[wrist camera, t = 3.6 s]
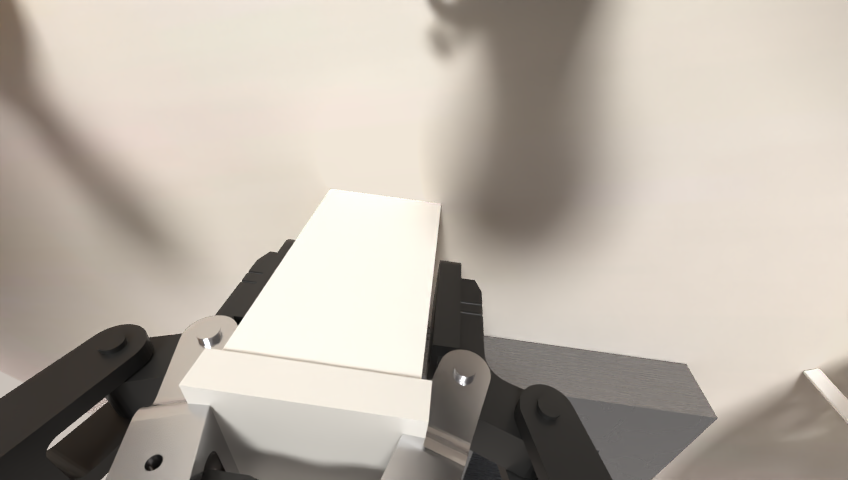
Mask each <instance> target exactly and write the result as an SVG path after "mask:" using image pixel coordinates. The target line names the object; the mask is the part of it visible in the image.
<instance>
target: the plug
mask: <svg viewBox="0 0 848 480" xmlns="http://www.w3.org/2000/svg"><path fill="white" fill-rule="evenodd" d="M440 210H441V204H440V203H432V202H425V201H418V200H410V199H403V198H396V197H388V196H381V195H373V194H366V193H359V192H351V191H344V190H337V189H330V190H329V191H328V193H327V194H326V196H325V197H324V199H323V200H322V202H321V203H320V205H319V206H318V208H317V209H316V211H315V212H314V214H313V215H312V217H311V218H310V220H309V221H308V223H307V224H306V226H305V227H304V229H303V230H302V232H301V233H300V235H299V236H298V238H297V239H296V240H295V242H294V243H293V245H292V246H291V248H290V249H289V251H288V252H287V254H286V255H285V257H284V258H283V260H282V261H281V263H280V264H279V266H278V267H277V269H276V270H275V272H274V273H273V275H272V276H271V278H270V279H269V281H268V282H267V284H266V285H265V287H264V288H263V290H262V291H261V293H260V294H259V296H258V297H257V299H256V300H255V302H254V303H253V305H252V306H251V307H250V309H249V310H248V312H247V313H246V315H245V316H244V318H243V319H242V321H241V322H240V324H239V325H238V327H237V328H236V330H235V331H234V333H233V334H232V336H231V337H230V339H229V340H228V342H227V343H226V345H225V346H224V348H223V349H222V350H217V349H210V348H205V349H204V351H203V352H202V353H201V355H200V356H199V358H198V359H197V360H196V362H195V363H194V364H193V366H192V367H191V369H190V370H189V371H188V373H187V374H186V376H185V377H184V378H183V380H182V381H181V382H180V384H179V387H180V389H181V391H182V393H183V395H184V397H185V399H186V401H187V403H188V404H202V405H210V407H211V409H212V411H213V413H214V416H215V418H216V420H217V423H218V425H219V427H220V429H221V432H222V434H223V436H224V439H225V441H226V443H227V445H228V448H229V450H230V452H231V454H232V457H233V459H234V461H235V464H236V466H237V468H238V470H239V473H240V474H245V475H250V476H252V477H254V478H256V479H258V480H381V478H382V476H383V474H384V472H385V470H386V467H387V465H388V463H389V461H390V459H391V457H392V455H393V453H394V451H395V448H396V446H397V444H398V442H399V440H400V438H401V436H402V434H406V435H412V436H416V437H421V438H425V437H426V432H427V427H428V422H429V411H430V399H431V388H432V381H431V380H424V379H421V378H422V369H423V360H424V352H425V343H426V334H427V325H428V316H429V307H430V299H431V290H432V281H433V272H434V263H435V254H436V246H437V237H438V228H439V219H440Z"/></svg>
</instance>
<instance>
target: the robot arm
mask: <svg viewBox="0 0 848 480" xmlns="http://www.w3.org/2000/svg"><path fill="white" fill-rule="evenodd" d="M294 242H295V240H291V239H288V240H286V242H285V243H284V244H283V246H282V247H281V249H280V250H279V251H278V253H277V252H269V253H267V254H266V255H264V256H263V257H261V258H260V259H258V260H257V261H256V262H255V264H254V265H253V266H252V268H251V269H250V270H249V273H247V274H246V275H245V277H244V278H243V279H242V282H240V283H239V285H238V286H237V287H236V289H235V290H234V291H233V293H232V294H231V295H230V296H229V298H228V299H227V300H226V302H225V303H224V304H223V306H222V307H221V308H220V310H219V311H218V312H217V314H216V315H215V316H209V317H205V318H203V319H200V320H198V321H196V322H194V323H193V324H191V325H190V326H189V327H188V328H187V329H186V330H185V331H184V332H183V333H182V334H175V335H167V336H158V337H150V338H149V337H148V335H147V333H146V331H145V330H144V329H143V328H142V327H140V326H138V325H133V324H126V325H119V326H115V327H111V328H109V329H106V330H104V331H102V332H100V333H98V334H97V335H95V336H93V337H92V338H90V339H89V340H87V341H86V342H84V343H83V344H81V345H80V346H78V347H77V348H75V349H74V350H72V351H71V352H69V353H68V354H66V355H65V356H63V357H62V358H60V359H59V360H57V361H56V362H54V363H53V364H51V365H50V366H48V367H47V368H45V369H44V370H42V371H41V372H39V373H38V374H36V375H35V376H33V377H32V378H30V379H29V380H27V381H26V382H24V383H23V384H21V385H20V386H18V387H17V388H15V389H14V390H12V391H11V392H9V393H8V394H6V395H5V396H3V397H2V398H0V480H101V479H102V478H103V477H104V476H105V475H106V474H107V473H108V472H109V473H108V475H107V477H106V480H258V479H256V478H254V477H252V476H250V475H245V474H240V473H239V470H238V468H237V466H236V464H235V461H234V459H233V457H232V454H231V452H230V450H229V448H228V445H227V443H226V441H225V439H224V436H223V434H222V432H221V429H220V427H219V425H218V423H217V420H216V418H215V416H214V413H213V411H212V409H211V407H210V405H202V404H188V403H187V401H186V399H185V397H184V395H183V393H182V391H181V389H180V387H179V384H180V382H181V381H182V380H183V378H184V377H185V376H186V374H187V373H188V371H189V370H190V369H191V367H192V366H193V364H194V363H195V362H196V360H197V359H198V358H199V356H200V355H201V353H202V352H203V351H204V349H205V348H210V349H217V350H222V349H223V348H224V346H225V345H226V343H227V342H228V340H229V339H230V337H231V336H232V334H233V333H234V331H235V330H236V328H237V327H238V325H239V324H240V322H241V321H242V319H243V318H244V316H245V315H246V313H247V312H248V310H249V309H250V307H251V306H252V305H253V303H254V302H255V300H256V299H257V297H258V296H259V294H260V293H261V291H262V290H263V288H264V287H265V285H266V284H267V282H268V281H269V279H270V278H271V276H272V275H273V273H274V272H275V270H276V269H277V267H278V266H279V264H280V263H281V261H282V260H283V258H284V257H285V255H286V254H287V252H288V251H289V249H290V248H291V246H292V245H293V243H294ZM482 314H483V313H482V294H481V290H480V289H479V287H478V285H477V283H476V282H475V280H469V279H462V278H461V263H456V262H449V261H441V260H440V263H439V270H438V276H437V282H436V288H435V294H434V302H433V310H432V320H431V329H430V339H429V349H428V359H427V369H426V378H425V380H431V381H432V388H431V399H430V411H429V422H428V427H427V432H426V437H425V438H421V437H416V436H412V435H406V434H402V436H401V438H400V440H399V442H398V444H397V446H396V448H395V451H394V453H393V455H392V457H391V459H390V461H389V463H388V465H387V467H386V470H385V472H384V474H383V476H382V478H381V480H461V478H462V474H463V471H464V468H465V464H466V461H467V457H468V452H469V450H471V451H473V452H475V453H477V454H479V455H481V456H482V457H484V458H486V459H488V460H490V461H492V462H494V463H496V464H497V466H498V469H499V472H500V475H501V478H502V480H613V479H612V478H611V476H610V474H609V472H608V470H607V468H606V466H605V465H604V463H603V461H602V459H601V457H600V455H599V454H598V452H597V450H596V448H595V446H594V444H593V442H592V441H591V439H590V437H589V435H588V433H587V431H586V429H585V428H584V426H583V424H582V422H581V420H580V418H579V417H578V415H577V413H576V411H575V409H574V407H573V406H572V404H571V402H570V401H569V400H568V399H567V397H566V396H565V395H564V394H562V393H561V392H560V391H558V390H557V389H555V388H553V387H551V386H548V385H543V384H535V385H531V386H529V387H527V388H526V389H525V390H524V389H522V388H519V387H517V386H515V385H513V384H511V383H508V382H506V381H504V380H503V379H501V378H500V377H498V376H497V375H496V374H495V373H494V372H493V371H492V370H491V368H490V367H489V366H488V364H487V362H486V358H485V352H484V333H483V317H482ZM103 398H106V399H107V400H108V402H107V403H106V404H105V405H103V406H102V407H101V408H100V409H99V410H97V411H96V412H95V413H94V414H93V415H91V416H90V417H89V418H88V419H87V420H85V421H84V422H83V423H82V424H80V425H79V426H78V427H77V428H75V429H74V430H73V431H72V432H71V433H69V434H68V435H67V436H66V437H65V438H63V439H62V440H61V441H60V442H58V443H57V444H56V445H55V446H53V447H52V448H50V449H49V450H47V448H48V446H49V444H50V443H51V442H52V441H53V439H54V438H55V437H56V436H57V435H59V434H60V433H61V432H62V431H64V430H65V429H66V428H67V427H68V426H70V425H71V424H72V423H73V422H75V421H76V420H77V419H78V418H80V417H81V416H82V415H83V414H85V413H86V412H87V411H88V410H90V409H91V408H92V407H93V406H95V405H96V404H97V403H98V402H100V401H101V400H102V399H103Z"/></svg>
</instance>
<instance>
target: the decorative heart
mask: <svg viewBox="0 0 848 480" xmlns="http://www.w3.org/2000/svg"><path fill="white" fill-rule="evenodd" d="M804 374H805V376H806V377H807V378H808V379H809V380H810V381H811V382H812V384H813V385H814V386H815V387H816V388H817V389H818V390H819V392H820V393H821V394H822V395H823V396H824V397H825V398H826V400H827V401H828V402H829V403H830V404H831V405H832V406H833V408H834V409H835V410H836V411H837V412H838V413H839V415H840V416H841V417H842V418H843V419H844V420H845V421H846V423H847V424H848V399H847V398H846V397H845V396H844V395H843V394H842V393H841V392H840V390H839V389H838V388H837V387H836V386H835V385H834V384H833V383H832V382H831V381H830V380H829V379H828V377H827V376H826V375H825V374H824V373H823V372H822V371H821V370H820V369H813V370H807V371H804Z"/></svg>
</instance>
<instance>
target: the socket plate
mask: <svg viewBox="0 0 848 480" xmlns="http://www.w3.org/2000/svg"><path fill="white" fill-rule="evenodd" d="M430 329H431V328H427V334H426V343H425V352H424V360H423V369H422V378H421V379H424V380H425V378H426V369H427V359H428V349H429V339H430ZM484 352H485V358H486V362H487V364H488V366H489V367H490V368H491V370H492V371H493V372H494V373H495V374H496V375H497V376H498V377H500V378H501V379H503V380H504V381H506V382H508V383H511V384H513V385H515V386H517V387H519V388H522V389H524V390H525V389H526V388H527V387H529V386H531V385H535V384H543V385H548V386H551V387H553V388H555V389H557V390H558V391H560V392H561V393H562V394H564V395H565V396H566V397H567V399H568V400H569V401H570V402H571V404H572V406H573V407H574V409H575V411H576V413H577V415H578V417H579V418H580V420H581V422H582V424H583V426H584V428H585V429H586V431H587V433H588V435H589V437H590V439H591V441H592V442H593V444H594V446H595V448H596V450H597V452H598V454H599V455H600V457H601V459H602V461H603V463H604V465H605V466H606V468H607V470H608V472H609V474H610V476H611V478H612V479H613V480H651V479H652V478H654V477H655V476H656V475H657V474H658V473H659V472H660V471H661V470H662V469H663V468H664V467H665V466H667V465H668V464H669V463H670V462H671V461H672V460H673V459H674V458H675V457H676V456H677V455H678V454H679V453H681V452H682V451H683V450H684V449H685V448H686V447H687V446H688V445H689V444H690V443H691V442H692V441H693V440H695V439H696V438H697V437H698V436H699V435H700V434H701V433H702V432H703V431H704V430H705V429H706V428H708V427H709V426H710V425H711V424H712V423H713V422H714V421H715V420H716V419H717V416H716V415H715V413H714V411H713V409H712V408H711V406H710V404H709V403H708V401H707V399H706V397H705V396H704V394H703V392H702V391H701V389H700V387H699V385H698V384H697V382H696V380H695V379H694V377H693V375H692V373H691V372H690V370H689V368H688V367H687V365H686V364H680V363H673V362H666V361H658V360H651V359H644V358H637V357H630V356H623V355H616V354H609V353H602V352H595V351H588V350H580V349H573V348H566V347H559V346H552V345H545V344H538V343H531V342H524V341H517V340H510V339H503V338H495V337H488V336H484ZM461 480H502V478H501V475H500V472H499V469H498V466H497V464H496V463H494V462H492V461H490V460H488V459H486V458H484V457H482V456H481V455H479V454H477V453H475V452H473V451H471V450H469V452H468V457H467V461H466V464H465V468H464V471H463V474H462V478H461Z"/></svg>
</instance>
